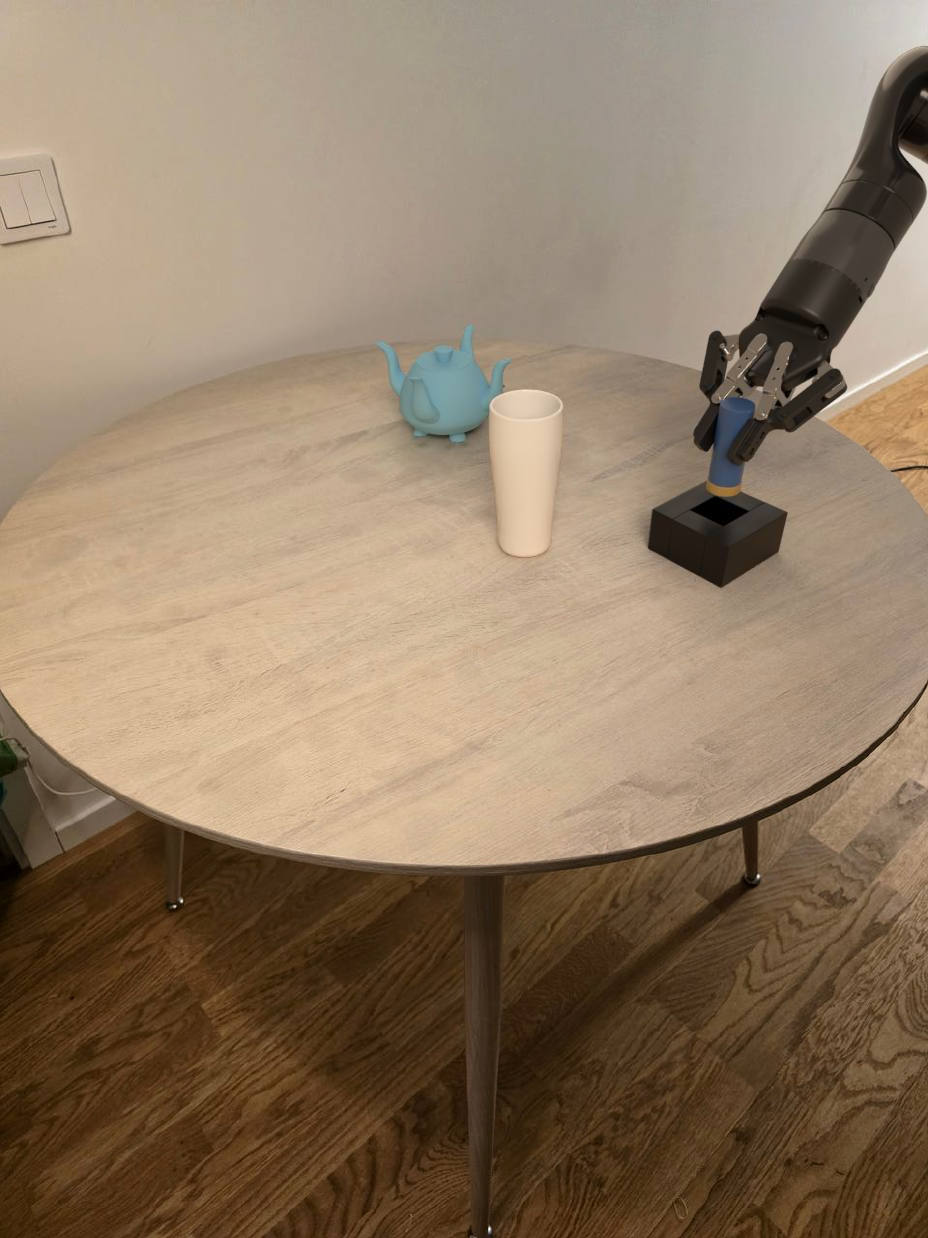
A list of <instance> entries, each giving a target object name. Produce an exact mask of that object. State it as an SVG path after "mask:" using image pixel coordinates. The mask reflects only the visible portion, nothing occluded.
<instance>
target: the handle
mask: <svg viewBox="0 0 928 1238" xmlns="http://www.w3.org/2000/svg"><path fill="white" fill-rule="evenodd" d="M756 409H757V406H756V404H755V402H754V401H753V400H751V399H749V398H740V397H731V398H726V399H723V400H722V401H721V402H720V407H719V413H718V419H717V425H716V431H715V437H714V443H713V445H712V451H711V456H710V462H709V469H708V474H707V475H708V476H707V477H706V481H707V483H706V489H707V491H708V492H709V493H710V494H712V495H714V496H717V497H723V498H728V497H734V496H736V495H737V494H738V493H739V492H740V491H742V490H741V489H742V485H743V484H742V483H743V475H744V470H745V466H746V462H745V461H744V462H743V464H742V465H741V466H737V465H735V464H732V463H731V462H730V460H729V459H728V458H727V452H728V450H729V448H730V447H731V445H732V444H733V442H734V441H735V439H736V438H737V436H738V434H739V433H740V431H741V430H742V428H743V427H744V425H745V423H746V422H747V420H748V419H749V418H750V419H754V417H755V416H754V413H755V411H756Z"/></svg>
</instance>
